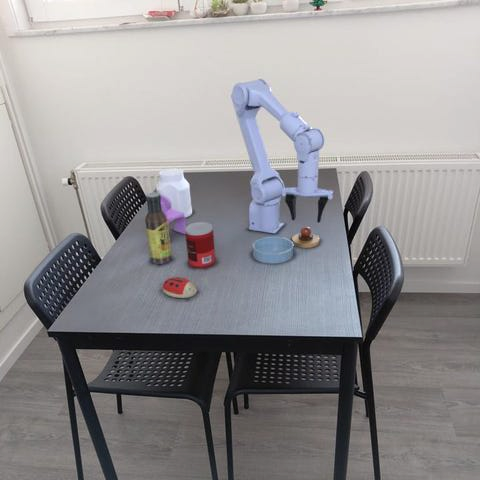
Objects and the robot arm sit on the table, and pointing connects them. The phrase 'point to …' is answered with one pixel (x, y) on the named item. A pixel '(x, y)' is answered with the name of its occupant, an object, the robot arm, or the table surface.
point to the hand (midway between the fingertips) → (306, 220)
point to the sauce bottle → (157, 230)
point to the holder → (305, 240)
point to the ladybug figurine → (179, 288)
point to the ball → (305, 231)
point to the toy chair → (173, 215)
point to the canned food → (200, 245)
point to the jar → (175, 190)
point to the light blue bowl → (273, 250)
